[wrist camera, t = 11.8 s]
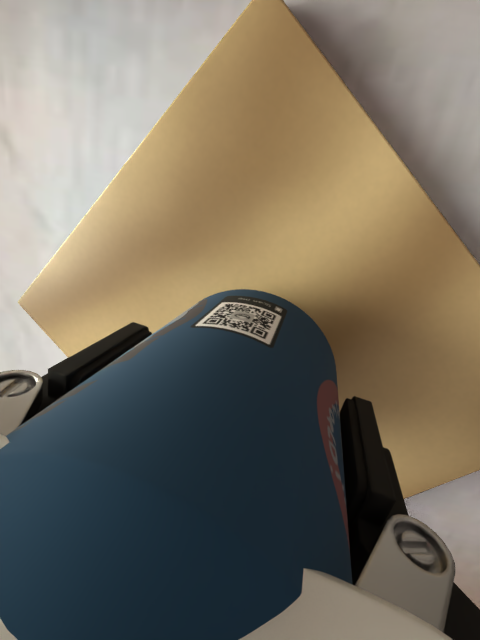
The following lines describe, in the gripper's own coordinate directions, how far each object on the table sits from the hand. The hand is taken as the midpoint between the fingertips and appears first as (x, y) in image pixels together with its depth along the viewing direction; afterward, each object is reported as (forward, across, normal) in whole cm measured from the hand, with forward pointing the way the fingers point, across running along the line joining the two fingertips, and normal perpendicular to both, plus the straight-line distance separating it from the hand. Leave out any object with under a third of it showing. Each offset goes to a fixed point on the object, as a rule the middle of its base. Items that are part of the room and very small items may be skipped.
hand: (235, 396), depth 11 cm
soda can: (+3, 0, 0) cm, 3 cm away
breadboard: (+5, 0, 0) cm, 5 cm away
